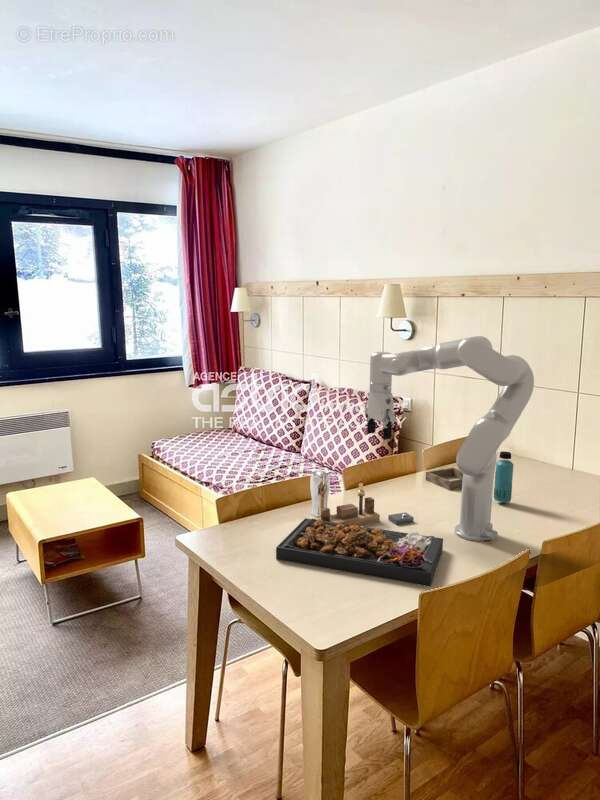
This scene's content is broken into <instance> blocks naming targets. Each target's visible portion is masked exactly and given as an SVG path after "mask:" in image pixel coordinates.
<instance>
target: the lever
mask: <svg viewBox="0 0 600 800" xmlns="http://www.w3.org/2000/svg"><path fill="white" fill-rule="evenodd" d="M365 495H366V493H365V490H364V483H363V482H361V483H360V482H359V483H358V490H357V496H358V497H359V496H363V497H365Z"/></svg>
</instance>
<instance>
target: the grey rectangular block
mask: <svg viewBox="0 0 600 800" xmlns="http://www.w3.org/2000/svg"><path fill="white" fill-rule="evenodd" d="M414 519H415V518H414V516H412V515H410V514H409V513H408V512H399V513H393V514H388V521H389V522H391V523H392V524H393V525H395V526H400V525H405V523H406V524H411V522H412V523H414V521H415V520H414Z"/></svg>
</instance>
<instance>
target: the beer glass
mask: <svg viewBox="0 0 600 800" xmlns="http://www.w3.org/2000/svg"><path fill="white" fill-rule="evenodd" d="M330 479H331V477H330V472H328V471H325V470H315V471H311V473H310V479H309V480H310V481H309V487H310V488H309V490H310V496H311V497H310V498H311V502H312V505H311V506H312V507H311V510H310V511H311V512H310V515H311V516H313V517H315V518H319V517H321V509H322V508H328V501H329V496H330V495H329V494H330V489H331V488H330V487H331V486H330V485H331V481H330Z"/></svg>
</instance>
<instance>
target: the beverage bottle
mask: <svg viewBox="0 0 600 800" xmlns="http://www.w3.org/2000/svg"><path fill="white" fill-rule="evenodd" d="M510 459H512V452H510V451H506V450H504V451H500V452H499V460H498V461H496V465H495V471H494V482H493V499H494V501H497V502H499V503H510V502H511V500H512V493H513V491H512V490H513V475H514V465H515V464H514V463H513V462H512V461H511V460H510Z"/></svg>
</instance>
